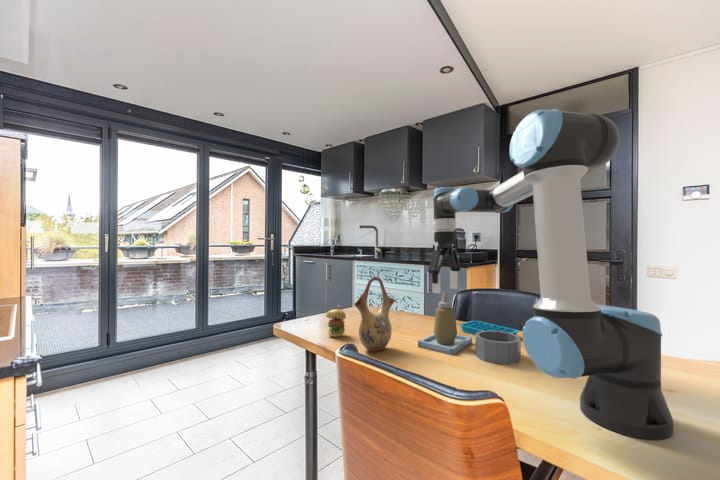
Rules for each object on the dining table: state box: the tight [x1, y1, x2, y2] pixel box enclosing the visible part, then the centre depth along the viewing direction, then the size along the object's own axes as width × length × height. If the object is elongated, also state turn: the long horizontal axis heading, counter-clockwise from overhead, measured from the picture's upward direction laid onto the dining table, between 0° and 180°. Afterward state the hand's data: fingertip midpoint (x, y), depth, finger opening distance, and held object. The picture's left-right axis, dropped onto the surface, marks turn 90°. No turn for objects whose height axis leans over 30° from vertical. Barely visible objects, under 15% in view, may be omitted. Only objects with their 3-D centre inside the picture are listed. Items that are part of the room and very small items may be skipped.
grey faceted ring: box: [474, 330, 522, 365], centre depth 104 cm, size 13×13×6 cm
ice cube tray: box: [458, 320, 520, 336], centre depth 129 cm, size 12×20×3 cm, turn 36°
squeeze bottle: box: [433, 291, 458, 345], centre depth 116 cm, size 8×8×18 cm
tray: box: [417, 333, 473, 356], centre depth 116 cm, size 16×13×2 cm
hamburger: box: [326, 304, 347, 338], centre depth 128 cm, size 8×7×12 cm
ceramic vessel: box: [353, 276, 396, 352], centre depth 111 cm, size 16×9×25 cm, turn 121°
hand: (445, 290), depth 116 cm, fingers open, 13 cm apart
